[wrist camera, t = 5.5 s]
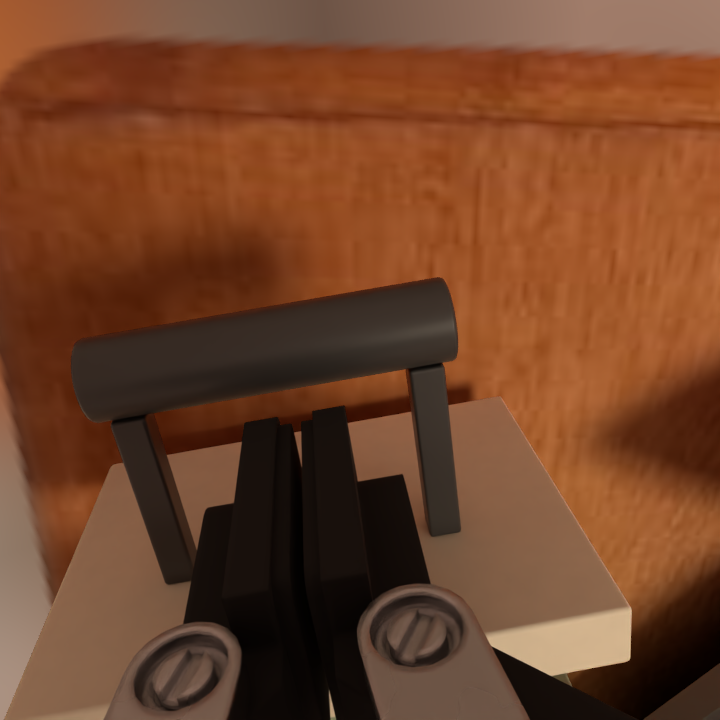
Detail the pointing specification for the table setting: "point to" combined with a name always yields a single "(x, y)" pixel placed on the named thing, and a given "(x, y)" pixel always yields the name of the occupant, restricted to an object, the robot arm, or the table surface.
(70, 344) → the table surface
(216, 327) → the drawer
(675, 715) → the toy truck
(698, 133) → the table surface
